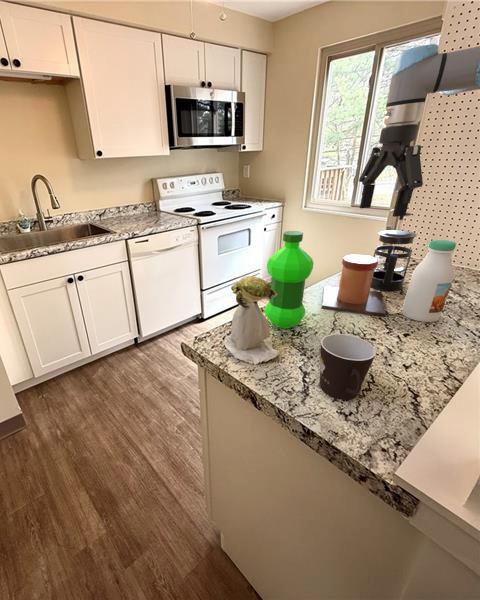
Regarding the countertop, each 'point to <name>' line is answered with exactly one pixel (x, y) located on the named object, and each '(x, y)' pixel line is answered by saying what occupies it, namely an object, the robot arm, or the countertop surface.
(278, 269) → the plastic bottle
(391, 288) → the french press
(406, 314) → the milk bottle
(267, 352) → the turtle figurine
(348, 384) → the coffee mug
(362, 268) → the lid
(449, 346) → the countertop surface
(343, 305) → the board
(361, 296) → the jar
